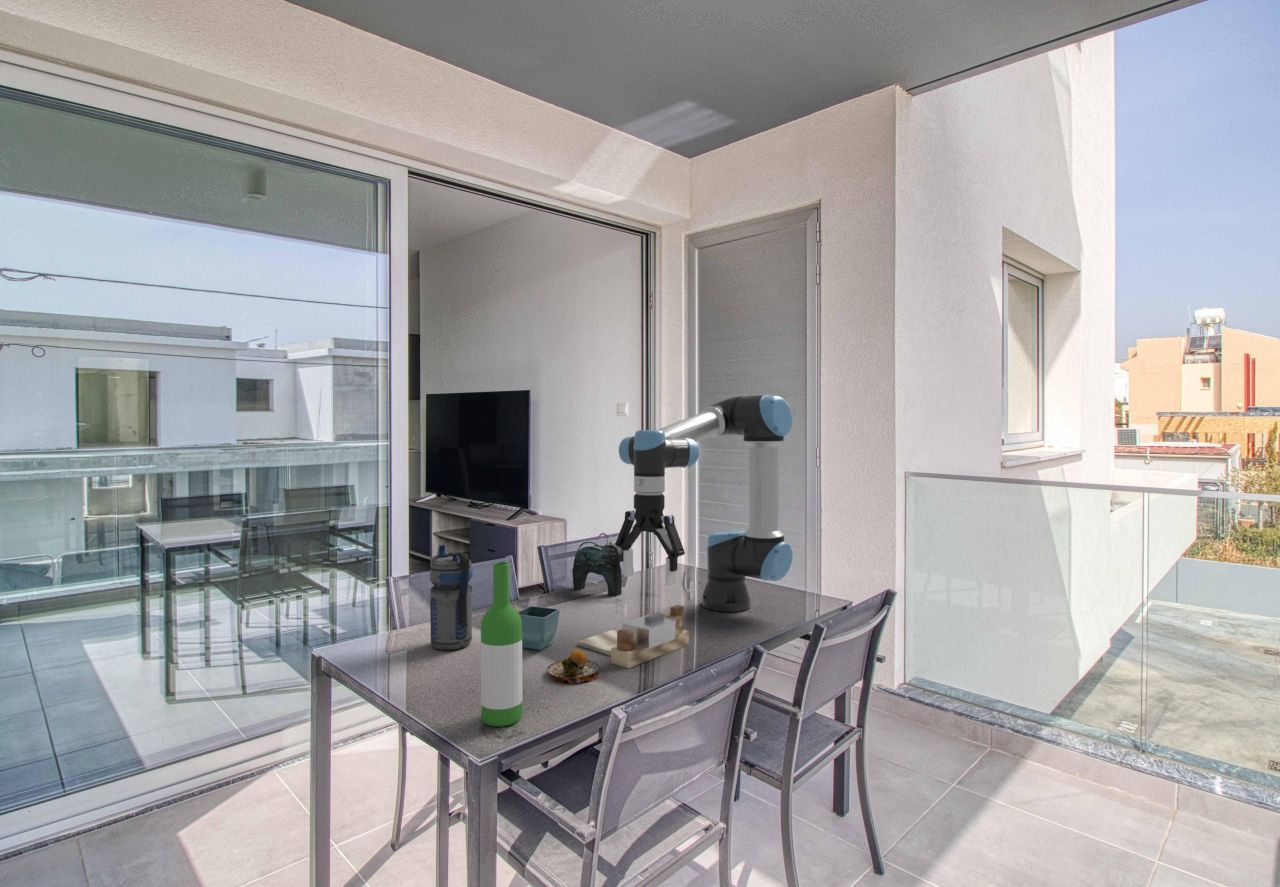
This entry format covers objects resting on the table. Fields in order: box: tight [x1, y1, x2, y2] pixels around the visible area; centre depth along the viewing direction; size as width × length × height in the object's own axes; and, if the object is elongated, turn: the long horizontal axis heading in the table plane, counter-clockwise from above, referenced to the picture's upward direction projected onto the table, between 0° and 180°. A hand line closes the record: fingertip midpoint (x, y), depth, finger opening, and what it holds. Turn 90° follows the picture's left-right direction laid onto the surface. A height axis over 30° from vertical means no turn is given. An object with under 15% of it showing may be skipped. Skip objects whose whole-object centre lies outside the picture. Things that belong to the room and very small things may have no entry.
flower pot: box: [518, 605, 560, 651], centre depth 172 cm, size 9×9×9 cm
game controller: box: [571, 532, 623, 597], centre depth 227 cm, size 20×6×20 cm, turn 58°
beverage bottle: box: [429, 544, 474, 651], centre depth 172 cm, size 10×13×25 cm
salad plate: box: [547, 644, 601, 685], centre depth 153 cm, size 12×12×8 cm
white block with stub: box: [621, 612, 675, 649], centre depth 166 cm, size 10×8×6 cm
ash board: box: [577, 628, 619, 657], centre depth 174 cm, size 14×12×1 cm
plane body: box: [610, 604, 690, 669], centre depth 167 cm, size 23×6×10 cm, turn 138°
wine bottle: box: [480, 561, 523, 727], centre depth 129 cm, size 8×8×30 cm
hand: (648, 580), depth 166 cm, fingers open, 13 cm apart
